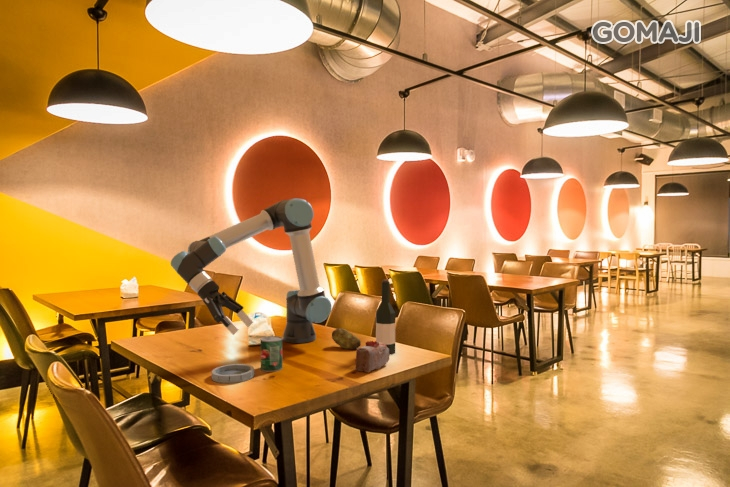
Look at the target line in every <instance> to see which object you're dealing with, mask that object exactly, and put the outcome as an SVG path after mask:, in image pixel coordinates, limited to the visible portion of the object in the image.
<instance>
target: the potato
mask: <svg viewBox="0 0 730 487" xmlns="http://www.w3.org/2000/svg"><path fill="white" fill-rule="evenodd" d="M331 338H332V340H333V342H334V343H335V344H336V345H338V346H339V347H340V348H342V349H345V350H356V349H358V348H360V347H361V346H362V345H361V344H362V343H361V339H360V338H359V337H358V336H356V335H354V334H353V333H352V332H350V331H348V330H347V329H345V328H342V327H339V328H336V329H334V330H332V332H331Z"/></svg>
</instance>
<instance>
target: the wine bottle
mask: <svg viewBox="0 0 730 487" xmlns="http://www.w3.org/2000/svg"><path fill="white" fill-rule="evenodd" d="M390 283H391V282H390V281H389V279H383V280H382V281H381V302H380V304H379V306H377V307H378V308H377V309H376V311H375V341H376V342H381V343H384V344H385V345H386V346H387V347H388V348H389V354H391V355H393V354H396V311H395V310H394V308H393V306H392V304H391V301H390V298H391V295H390V294H391V292H390V290H391V289H390V285H391V284H390Z"/></svg>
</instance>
